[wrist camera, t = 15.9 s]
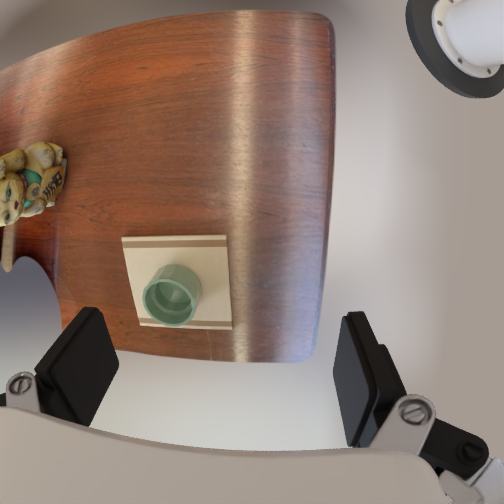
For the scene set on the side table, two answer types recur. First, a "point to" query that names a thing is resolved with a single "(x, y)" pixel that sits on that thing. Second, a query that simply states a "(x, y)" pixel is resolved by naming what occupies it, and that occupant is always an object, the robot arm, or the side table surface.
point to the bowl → (172, 295)
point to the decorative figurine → (30, 180)
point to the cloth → (193, 258)
